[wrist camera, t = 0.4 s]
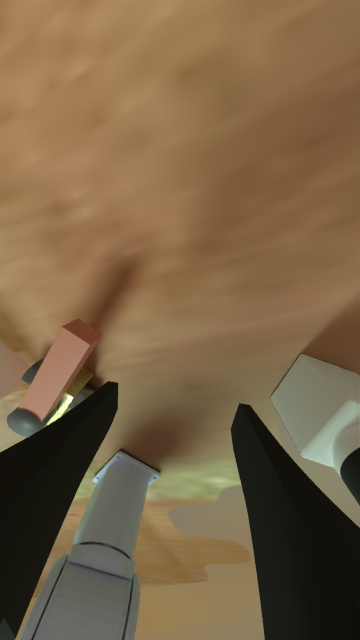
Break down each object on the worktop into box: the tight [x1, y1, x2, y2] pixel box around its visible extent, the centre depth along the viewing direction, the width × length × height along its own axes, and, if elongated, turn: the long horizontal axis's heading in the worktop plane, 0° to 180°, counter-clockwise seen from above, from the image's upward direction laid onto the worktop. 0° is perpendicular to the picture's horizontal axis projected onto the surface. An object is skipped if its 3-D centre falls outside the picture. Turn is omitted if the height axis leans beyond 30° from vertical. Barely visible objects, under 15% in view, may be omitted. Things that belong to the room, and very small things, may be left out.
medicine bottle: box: [271, 354, 360, 505], centre depth 15 cm, size 7×7×12 cm
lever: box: [7, 319, 102, 437], centre depth 16 cm, size 14×3×2 cm, turn 143°
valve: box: [22, 359, 95, 425], centre depth 21 cm, size 6×8×4 cm
